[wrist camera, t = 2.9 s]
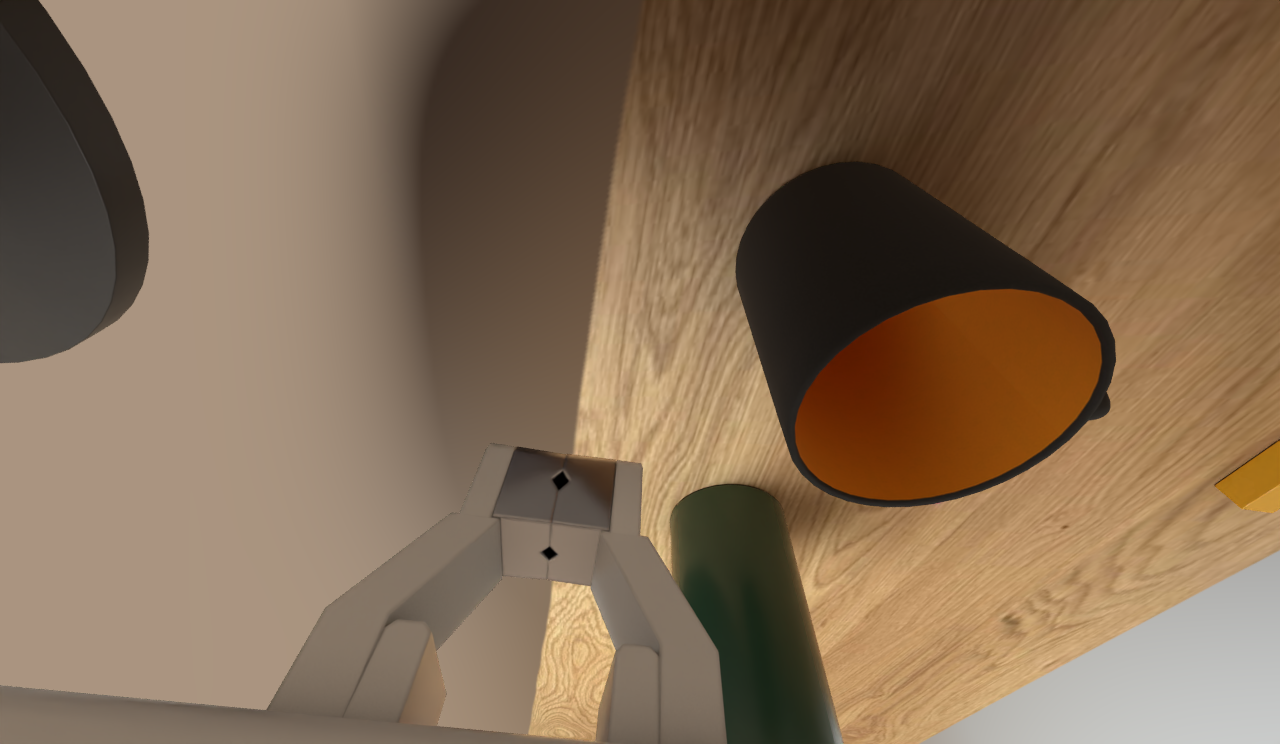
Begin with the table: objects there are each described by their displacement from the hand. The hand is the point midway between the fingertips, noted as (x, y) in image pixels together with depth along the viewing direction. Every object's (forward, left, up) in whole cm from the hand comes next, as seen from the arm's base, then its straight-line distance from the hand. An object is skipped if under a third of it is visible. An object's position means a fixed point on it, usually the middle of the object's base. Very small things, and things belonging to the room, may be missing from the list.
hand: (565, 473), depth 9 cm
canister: (+20, -10, -14) cm, 26 cm away
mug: (+9, +7, -14) cm, 18 cm away
